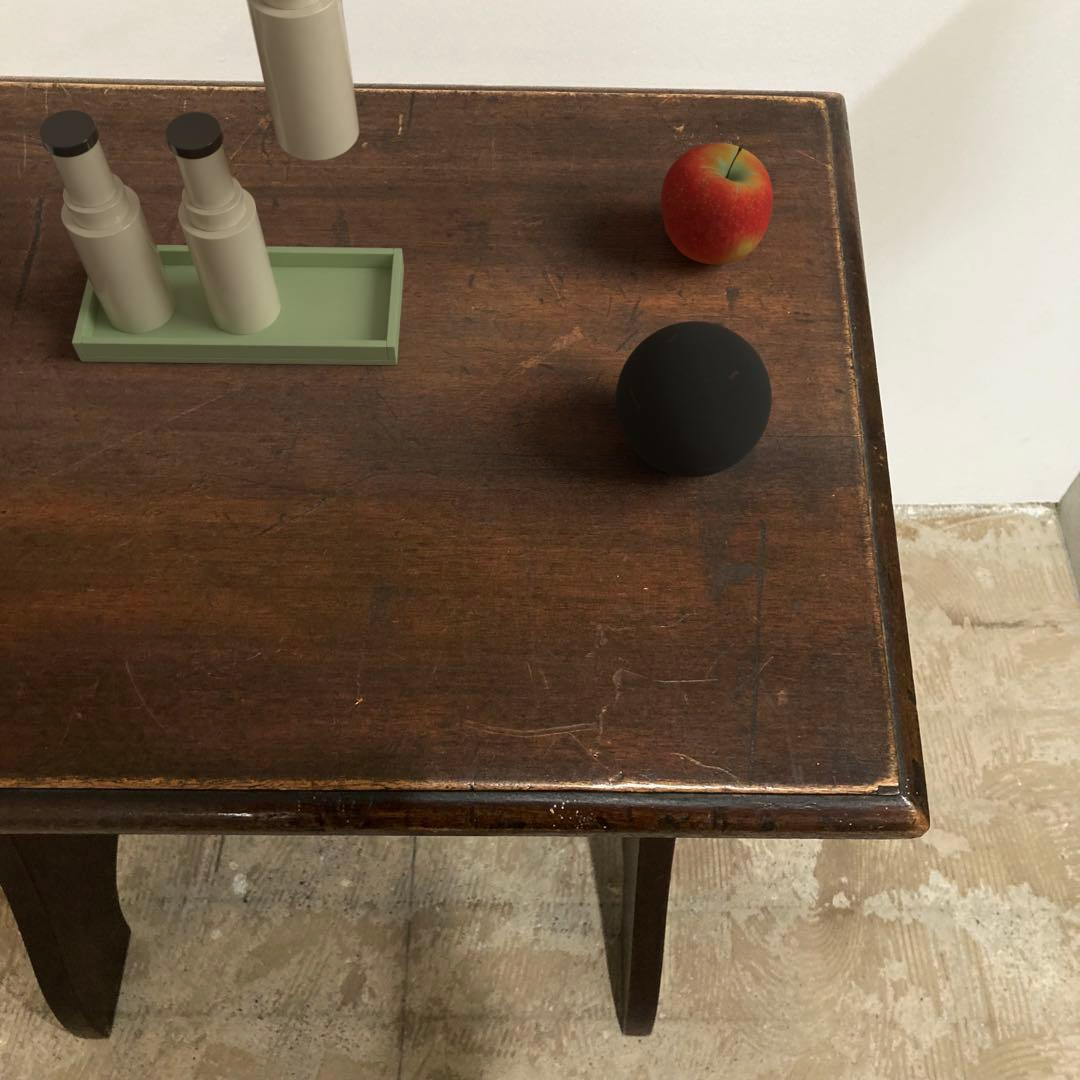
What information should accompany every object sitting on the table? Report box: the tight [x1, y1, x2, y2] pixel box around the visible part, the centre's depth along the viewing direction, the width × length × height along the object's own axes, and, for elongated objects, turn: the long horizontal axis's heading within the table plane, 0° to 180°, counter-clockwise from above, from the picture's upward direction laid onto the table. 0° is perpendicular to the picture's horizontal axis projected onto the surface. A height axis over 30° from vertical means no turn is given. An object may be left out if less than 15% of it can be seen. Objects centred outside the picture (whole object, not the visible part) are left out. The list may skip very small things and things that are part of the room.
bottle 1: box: [38, 109, 176, 333], centre depth 76 cm, size 5×5×16 cm
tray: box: [71, 244, 405, 366], centre depth 82 cm, size 22×9×2 cm, turn 90°
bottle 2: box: [164, 111, 281, 335], centre depth 76 cm, size 5×5×16 cm
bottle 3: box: [245, 0, 360, 162], centre depth 62 cm, size 5×5×16 cm
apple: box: [660, 142, 774, 266], centre depth 83 cm, size 8×8×10 cm
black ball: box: [615, 320, 773, 478], centre depth 74 cm, size 10×10×10 cm
